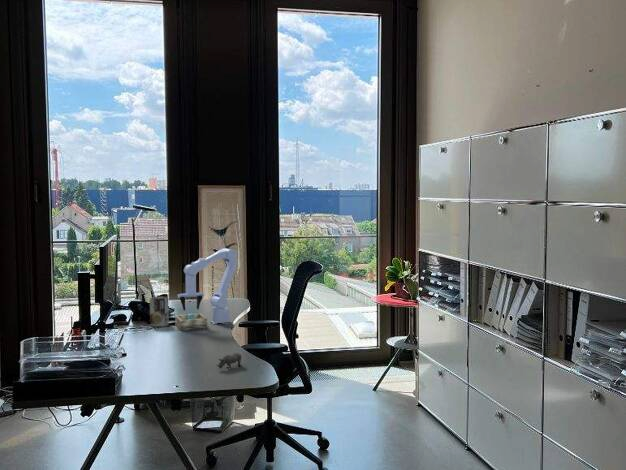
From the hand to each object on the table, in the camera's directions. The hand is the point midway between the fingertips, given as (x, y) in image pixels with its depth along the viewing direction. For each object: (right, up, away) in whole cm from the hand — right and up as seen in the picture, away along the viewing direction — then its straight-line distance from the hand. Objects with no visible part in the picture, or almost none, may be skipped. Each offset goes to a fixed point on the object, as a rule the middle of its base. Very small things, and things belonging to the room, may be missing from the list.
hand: (191, 309), depth 332 cm
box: (0, -10, +1) cm, 10 cm away
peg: (0, -10, +1) cm, 10 cm away
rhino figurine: (+33, -16, -77) cm, 86 cm away
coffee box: (-19, -10, +3) cm, 21 cm away
